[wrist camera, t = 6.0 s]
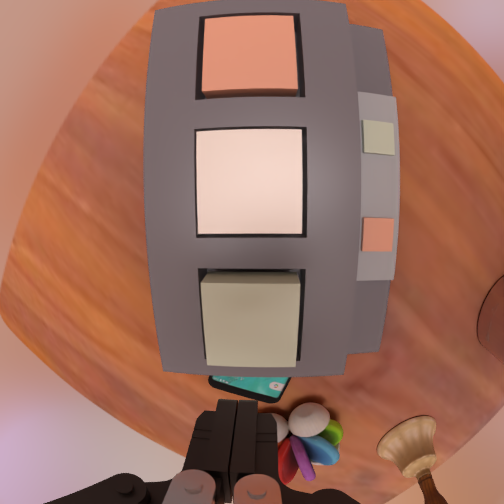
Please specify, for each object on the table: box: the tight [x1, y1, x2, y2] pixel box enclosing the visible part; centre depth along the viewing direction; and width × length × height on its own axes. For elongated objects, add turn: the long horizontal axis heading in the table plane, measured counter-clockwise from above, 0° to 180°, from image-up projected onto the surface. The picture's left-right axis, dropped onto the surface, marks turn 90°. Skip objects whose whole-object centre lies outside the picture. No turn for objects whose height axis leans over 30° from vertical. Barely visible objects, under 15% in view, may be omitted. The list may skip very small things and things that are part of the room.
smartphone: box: [208, 375, 291, 403], centre depth 24 cm, size 7×1×15 cm
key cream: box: [196, 129, 302, 234], centre depth 17 cm, size 6×6×2 cm
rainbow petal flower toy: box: [271, 402, 343, 485], centre depth 23 cm, size 8×10×7 cm
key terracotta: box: [202, 15, 298, 99], centre depth 17 cm, size 6×6×2 cm
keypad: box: [144, 0, 400, 377], centre depth 20 cm, size 18×28×4 cm, turn 1°
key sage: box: [201, 272, 300, 367], centre depth 19 cm, size 6×6×2 cm
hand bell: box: [377, 416, 448, 504], centre depth 19 cm, size 8×8×16 cm
